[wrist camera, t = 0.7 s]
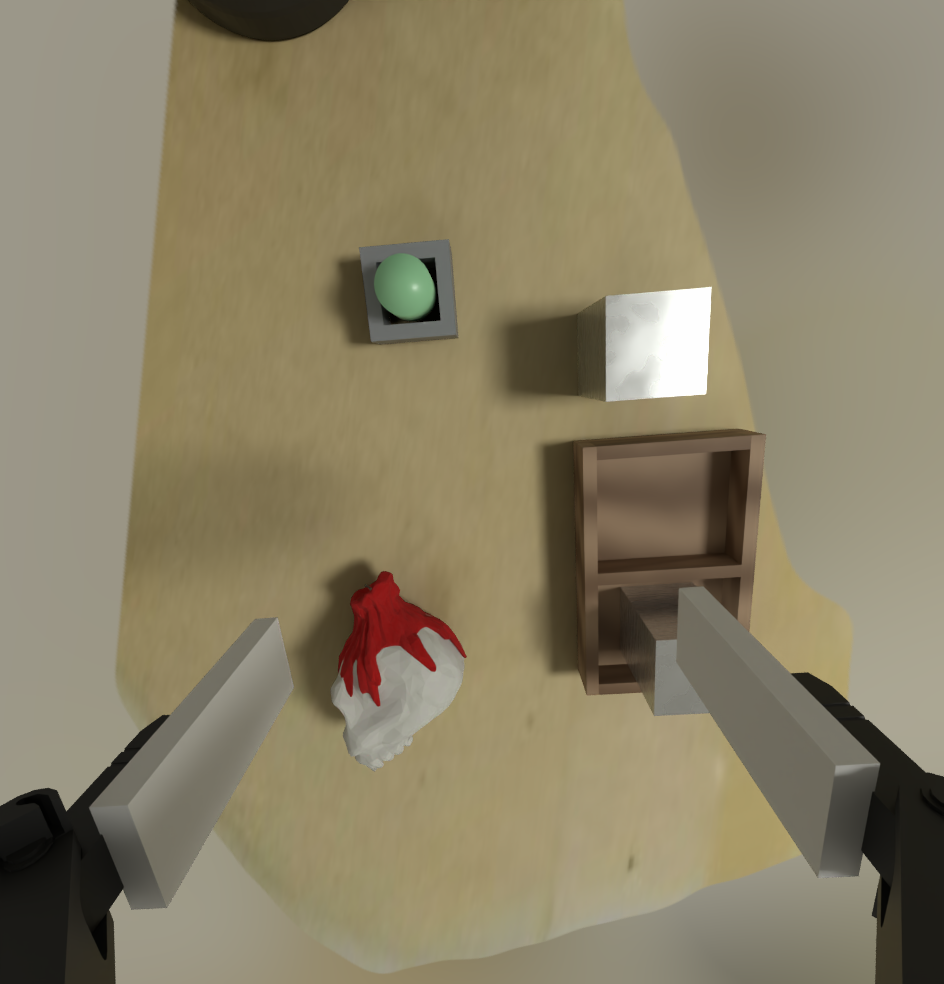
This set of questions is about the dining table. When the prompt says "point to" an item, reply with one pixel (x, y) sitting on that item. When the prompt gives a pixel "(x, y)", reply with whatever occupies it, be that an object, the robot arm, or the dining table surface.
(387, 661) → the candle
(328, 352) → the dining table surface
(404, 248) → the button housing
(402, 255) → the button
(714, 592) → the wooden cubby shelf
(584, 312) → the block
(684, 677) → the block
